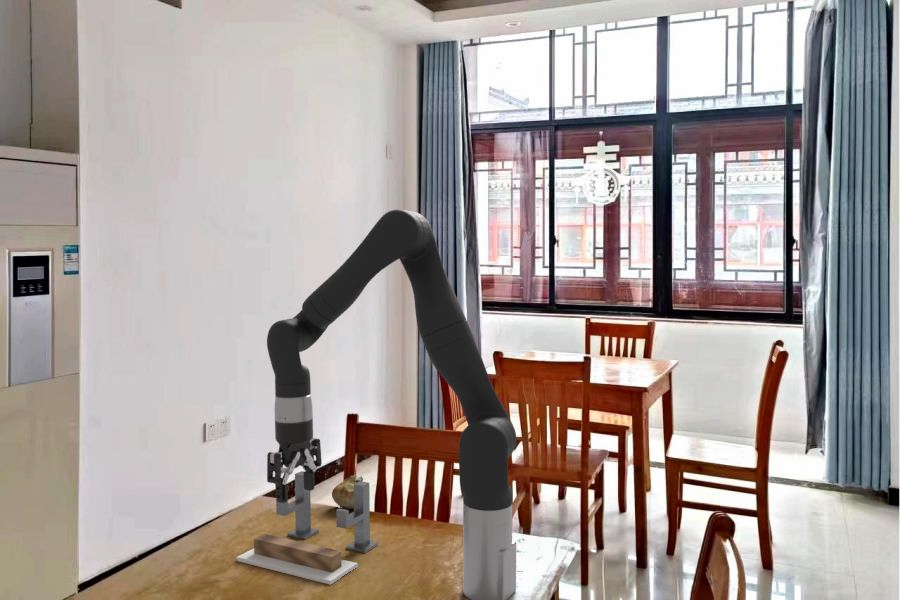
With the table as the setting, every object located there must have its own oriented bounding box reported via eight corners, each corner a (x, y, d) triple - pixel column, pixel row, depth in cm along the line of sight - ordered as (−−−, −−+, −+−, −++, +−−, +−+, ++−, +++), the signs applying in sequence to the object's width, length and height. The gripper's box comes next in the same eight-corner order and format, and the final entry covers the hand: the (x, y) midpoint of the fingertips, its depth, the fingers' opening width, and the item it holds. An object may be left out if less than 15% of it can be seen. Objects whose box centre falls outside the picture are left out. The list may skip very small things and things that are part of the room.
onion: (333, 502, 189) (333, 471, 189) (365, 502, 190) (364, 471, 189) (330, 513, 182) (330, 481, 181) (363, 512, 182) (363, 480, 182)
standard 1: (319, 532, 169) (318, 471, 168) (290, 547, 160) (289, 484, 160) (301, 528, 172) (300, 468, 171) (272, 543, 163) (271, 480, 162)
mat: (357, 567, 151) (357, 563, 151) (331, 584, 143) (331, 580, 143) (266, 545, 162) (266, 541, 162) (236, 560, 154) (236, 557, 154)
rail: (341, 566, 149) (341, 551, 149) (331, 572, 146) (331, 557, 146) (264, 548, 158) (264, 533, 158) (254, 553, 155) (253, 538, 155)
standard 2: (378, 544, 162) (377, 481, 161) (351, 562, 153) (350, 495, 152) (359, 540, 164) (358, 478, 163) (331, 557, 155) (331, 491, 154)
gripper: (285, 426, 142) (287, 509, 143) (330, 411, 155) (332, 488, 156) (255, 422, 146) (257, 503, 147) (301, 408, 158) (303, 483, 159)
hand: (296, 495), depth 151 cm, fingers open, 8 cm apart
